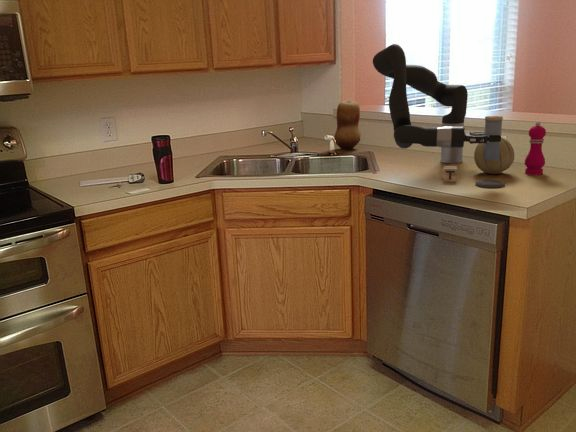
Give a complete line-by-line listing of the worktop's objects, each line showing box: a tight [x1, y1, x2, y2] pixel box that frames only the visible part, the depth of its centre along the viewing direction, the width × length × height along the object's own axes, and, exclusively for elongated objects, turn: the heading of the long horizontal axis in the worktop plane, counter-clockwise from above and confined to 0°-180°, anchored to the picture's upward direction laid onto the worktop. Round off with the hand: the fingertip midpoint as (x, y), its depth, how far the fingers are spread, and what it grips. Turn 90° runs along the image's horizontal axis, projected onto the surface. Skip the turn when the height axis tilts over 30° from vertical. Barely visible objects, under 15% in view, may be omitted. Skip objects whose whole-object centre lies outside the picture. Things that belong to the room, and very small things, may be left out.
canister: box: [483, 115, 504, 160], centre depth 189 cm, size 6×6×15 cm
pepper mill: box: [524, 121, 547, 176], centre depth 205 cm, size 7×7×20 cm
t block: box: [442, 165, 458, 183], centre depth 203 cm, size 5×5×5 cm
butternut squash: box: [333, 100, 361, 150], centre depth 279 cm, size 14×13×25 cm
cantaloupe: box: [473, 137, 515, 175], centre depth 209 cm, size 15×15×15 cm
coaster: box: [475, 179, 506, 189], centre depth 194 cm, size 10×10×1 cm
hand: (500, 137), depth 188 cm, fingers closed on canister, 5 cm apart
